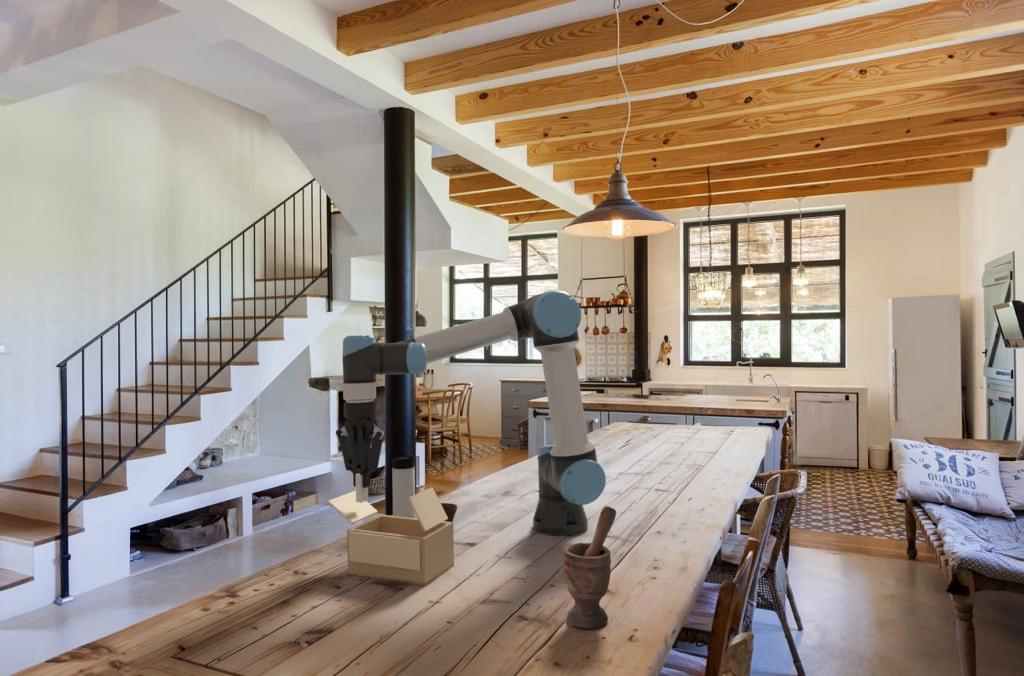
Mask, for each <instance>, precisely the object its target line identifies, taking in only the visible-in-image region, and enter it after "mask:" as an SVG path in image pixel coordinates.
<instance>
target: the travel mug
mask: <svg viewBox="0 0 1024 676" xmlns="http://www.w3.org/2000/svg"><path fill="white" fill-rule="evenodd" d="M415 459H416V455H415V454H413V455H412V454H411V455H404V456H402V455H401V456H398V457H395V458H392V461H391V462H392V469H391V471H392V472H391V473H392V477H391V478H392V516H398V517H407V518H416V514H415V512H414V510H413V507H412V505H411V503H410V501H409V499H408V498H409V497H411V496H413V495H416V486H415V485H416V477H415V476H416V473H415V472H416V470H415Z"/></svg>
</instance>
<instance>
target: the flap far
mask: <svg viewBox="0 0 1024 676" xmlns="http://www.w3.org/2000/svg"><path fill="white" fill-rule="evenodd" d="M327 503H328V504H329V505H330V507H332V508H333V509H334V511H335V510H336V512H337V513H338V514H339V515H341V516H342V517H343V518H344V519H345V520H346V521H347V522H348V523H350V524H351V525H353V524H355V523H357V522H359V521H363V520H365V519H366V518H369V517H371V516H373V515H376V514H378V512H379V511H378V510H377V509H376V508H375V507H374V506H373V505H371V503H370V502H368V500H367V501H364V502H362V503H359V502H356V490H353V491H350V492H348V493H345V494H343V495H340V496H337V497H334V498H332V499H329V500H328V501H327Z"/></svg>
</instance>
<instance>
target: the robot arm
mask: <svg viewBox="0 0 1024 676" xmlns="http://www.w3.org/2000/svg"><path fill="white" fill-rule="evenodd" d="M581 322H582V309H581V307H580V305H579V303H578V302H577V300H576V298H574V297H573V296H572V294H571V295H570V294H569V293H567V292H565V291H562V290H548V291H544V292H543V293H540V294H536V295H532V296H531V297H529V298H527V299H524V300H523V301H520V302H518V303H516V304H512V305H510V306H507V307H504V308H503V311H502V312H499V313H495V314H493V315H492V314H491V315H489V316H485V317H482V318H478V319H477V318H476V319H474V320H471V321H468V322H464V323H460V324H457V325H453V326H450V327H446V328H442V329H440V330H437V331H432V332H430V333H429V332H428V333H425V334H422V335H419V336H415V337H413V338H409V339H406V340H401V341H397V342H391V343H390V342H386V343H381V342H377V341H376V337H375V336H374V335H373V334H372V335H368V334H367V335H346V336H345V337H344V338H343V340H342V376H343V378H342V380H343V383H342V384H343V385H342V386H343V387H342V389H343V390H342V391H343V393H342V395H343V397H342V398H343V400H344V401H345V402H344V403H343V417H344V418H345V421H344V423H343V427H342V428H341V429H337V430H335V435H336V436H337V438H338V440H339V445H340V449H341V455H342V459H343V464H344V467H345V468H344V469H345V470H346V471H349V472H351V473H352V479H353V480H352V483H353V487H354V488H355V491H356V502H359V503H362V502H364V501H367V502H368V501H369V488H370V487H371V473H372V472H374V471H377V470H378V468H379V462H380V457H381V451H382V446H383V441H384V439H385V437H386V435H387V431H386V430H382V429H381V428H379V427H378V423H377V421H376V420H377V419H376V417H377V415H378V414H377V402H376V400H375V399H376V398H377V379H376V378H377V375H378V376H379V375H381V376H382V375H409V374H410V375H415V374H423V373H425V372H426V370H427V365H428V364H430V363H435V362H438V361H440V360H444V359H447V358H451V357H455V356H458V355H460V354H464V353H468V352H471V351H474V350H477V349H478V350H479V349H481V348H484V347H489V346H492V345H495V344H498V343H501V342H505V341H508V340H512V341H513V342H518V341H522V340H525V339H532V341H533V342H532V343H533V348H534V349H535V350H536V351H538V352H539V353H540V357H541V363H542V369H543V376H544V383H545V390H546V396H547V397H546V398H547V402H548V408H549V410H548V411H549V415H550V423H551V429H552V436H553V444H546V445H545V444H544V445H541V446H540V447H539V448H538V450H537V453H538V454H537V469H538V471H537V472H538V473H537V475H538V502H537V505H536V508H535V511H534V516H533V519H532V529H534V530H535V531H536V532H538V533H540V534H545V535H550V536H551V535H552V536H572V535H577V534H581V533H584V532H585V531H587V530H588V526H589V524H588V518H587V514H586V511H585V508H584V505H589V504H592V503H594V502H595V501H596V500H597V499H599V498H600V496H601V495H602V493H603V492H604V490H605V487H606V483H607V482H606V480H607V476H606V473H605V470H604V469H603V467H602V465H601V464H600V463H598V458H597V450H596V447H595V444H593V443H592V442H590V441H589V440H588V439H589V438H588V431H587V426H586V419H585V412H584V406H583V404H584V403H583V398H582V391H581V385H580V377H579V373H578V372H579V371H578V366H577V364H578V363H577V359H576V353H575V347H576V346H577V344H578V343H579V341H580V337H579V333H578V329H579V327H580V324H581Z"/></svg>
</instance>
